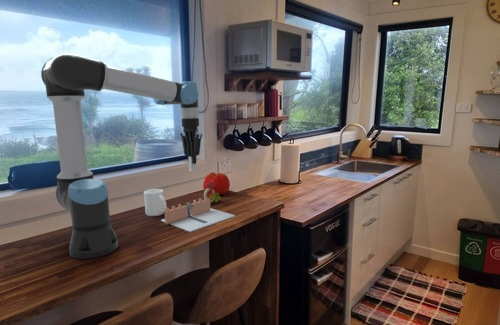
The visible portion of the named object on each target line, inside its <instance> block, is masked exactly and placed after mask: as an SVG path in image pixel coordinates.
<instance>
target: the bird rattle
mask: <svg viewBox="0 0 500 325" xmlns="http://www.w3.org/2000/svg"><path fill="white" fill-rule="evenodd" d="M205 185H206V186H207V187H208V188H207V189H206V190H204V192H203V198H204V197H207V199H210V204H211V203H213V202H215V203H218V201H219V200H221V199H222V197H221V195H219V194H218V193H216V194H215V191H214V190H213V187H214V186H215V183H214V182H213V181H212V182H209V183H206V184H205Z"/></svg>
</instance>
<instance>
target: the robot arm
mask: <svg viewBox="0 0 500 325" xmlns="http://www.w3.org/2000/svg"><path fill="white" fill-rule="evenodd" d="M40 76H41V80H42V82H43V85H44V86H45V92H46V98H47V99H48V100H49V101H51V102H52V108H53V115H54V124H55V132H56V141H57V147H58V149H57V150H58V159H59V165H60V172H59V173H58V174H57V175H56V181H57V182H56V183H57V186H56V188H55V197H56V200H57V202H58V204H59V205H60V206H61V207H62V208H64V209H65V210H67V211H69V212H70V218H71V224H72V225H71V226H72V233H71V238H70V242H69V246H68V252H69V253H68V254H69V256H70V257H71V258H74V259H78V260H88V259H96V258H100V257H103V256H106V255H109V254H111V253H113V252H114V251H116V250H117V249H118V248H119V241H118V237H117V235H116V233H115V231H114V228H113V227H112V224H111V214H110V204H109V202H110V201H109V190H108V186H107V184H106V182H104V181H103V180H101V179H98V178H97V179H96V178H94V173H93V172H92V171H91V170H90V169H89V168H88V160H87V148H86V140H85V130H84V122H83V120H84V119H83V112H82V111H83V110H82V101H83V99H85V97H86V94H85V90H87V91H88V90H89V91H96V92H101V91H102V90H107V91H113V92H118V93H123V94H129V95H133V96H140V97H145V98H150V99H153V101H154V103H155V104H156V105H161V106H165V105H167V106H168V105H180V117H181V127H182V128H183V132H181V133H180V134H179V135H180V136H181V140H182V147H183V151H184V154H185V155H187V158H188V160H187V161H188V169H189V170H188V171H189V172H193V171H194V172H195V171H197V156H200V153H201V151H200V150H201V145H202V144H201V141H202V137H203V134H202V133H199V129H198V127H199V126H200V119H199V118H198V117H199V115H200V114H199V99H198V98H199V90H198V85H197V82H196V81H189V80H188V81H186V80H185V81H180V82H177V81H172V80H167V79H163V78H159V77H155V76H151V75H147V74H143V73H139V72H134V71H129V70H126V69H123V68H122V69H121V68H117V67H113V66H108V65H107V64H106V63H105V62H104V61H101V60H97V59H93V58H90V57H88V56H83V55H80V54H75V53H70V52H68V53H61V54H58V55H57V56H53V57H51V58H50V59H48V60H47V61H46V62H45V63H44V64H43V66H42V68H41V71H40Z"/></svg>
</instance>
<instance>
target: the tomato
mask: <svg viewBox="0 0 500 325" xmlns="http://www.w3.org/2000/svg"><path fill="white" fill-rule="evenodd" d="M212 181H213V182H214V183H215V186H214V187H213V190H214V191H215V194H216V193H218V194H219V196H221V195H225V194H227V192H228V191H229V190H230V185H231V183H230V179H229V177H228V176H227V175H226V174H225V173H222V172H219V173H215V172H210V173H209V174H207V175H206V176H205V177H204V180H203V183H202V187H203V191H205V190H206V189H207V188H208V187H207V186H206V185H205V184H206V183H209V182H212Z"/></svg>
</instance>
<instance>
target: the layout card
mask: <svg viewBox="0 0 500 325" xmlns="http://www.w3.org/2000/svg"><path fill="white" fill-rule="evenodd" d="M190 212H191V210H190ZM235 217H236V215H235V214H232V213H228V212H226V211H222V210H218V209H214V208H211V207H210V210H209V211H206V212H203V213H200V214H197V215H193V216H192V215H191V217H187V218H185V219H182V220H179V221H175V222H172V223H169V224H168V225H171V226H173V227H176V228H178V229H181V230H184V231H186V232H189V233H192V232H195V231H198V230H200V229H204V228H206V227H209V226H212V225H214V224H218V223H221V222H224V221H226V220H229V219H232V218H235ZM160 221H161V222H163V223H165V218H162V219H160Z"/></svg>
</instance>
